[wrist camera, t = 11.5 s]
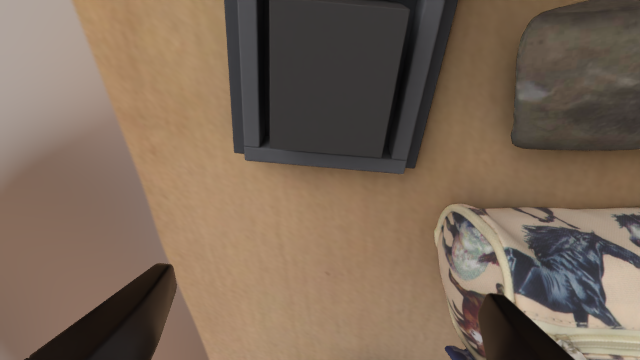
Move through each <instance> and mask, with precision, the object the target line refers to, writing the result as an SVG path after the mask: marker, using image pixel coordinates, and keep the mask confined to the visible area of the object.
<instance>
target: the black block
mask: <svg viewBox="0 0 640 360" xmlns="http://www.w3.org/2000/svg"><path fill="white" fill-rule="evenodd" d="M409 14H410V9H408V8H407V7H405V6H404V5H402V4H401V3H399V2H397V1H388V0H269V26H270V148H271V149H283V150H294V151H306V152H317V153H329V154H340V155H352V156H363V157H375V158H382V153H383V148H384V143H385V138H386V133H387V128H388V123H389V117H390V112H391V107H392V102H393V97H394V92H395V87H396V81H397V76H398V71H399V66H400V61H401V56H402V50H403V45H404V40H405V35H406V30H407V25H408V20H409Z"/></svg>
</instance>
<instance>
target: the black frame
mask: <svg viewBox="0 0 640 360" xmlns="http://www.w3.org/2000/svg"><path fill="white" fill-rule="evenodd" d="M388 1H397V2H399V3H401V4H402V5H404V6H405V7H407V8H408V9H410V14H409V20H408V25H407V30H406V35H405V40H404V45H403V50H402V56H401V61H400V66H399V71H398V76H397V81H396V87H395V92H394V97H393V102H392V107H391V112H390V117H389V123H388V128H387V133H386V138H385V143H384V148H383V153H382V158H375V157H363V156H352V155H340V154H329V153H317V152H306V151H294V150H283V149H271V148H270V26H269V0H224V4H225V20H226V35H227V50H228V65H229V81H230V96H231V111H232V127H233V142H234V152H235V153H242V154H245V160H247V161H258V162H270V163H281V164H293V165H304V166H316V167H327V168H339V169H350V170H362V171H373V172H385V173H396V174H404V171H405V168H415V165H416V162H417V158H418V154H419V150H420V146H421V142H422V138H423V134H424V130H425V127H426V123H427V119H428V115H429V111H430V107H431V103H432V99H433V96H434V92H435V88H436V84H437V80H438V76H439V72H440V68H441V64H442V61H443V57H444V53H445V49H446V45H447V41H448V37H449V33H450V30H451V26H452V22H453V18H454V14H455V10H456V6H457V2H458V0H388Z"/></svg>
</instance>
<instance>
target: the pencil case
mask: <svg viewBox="0 0 640 360" xmlns="http://www.w3.org/2000/svg"><path fill="white" fill-rule="evenodd" d="M434 241H435V245H436V247H437V250H438V257H439V268H440V274H441V278H442V282H443V286H444V290H445V293H446V298H447V303H448V308H449V312H450V316H451V319H452V322H453V324H454V327H455V330H456V332H457V333H458V335H459V337H460V339H461V340H462V342H463V343H464V345H465V347H466V349H464V350H462V349H459V348H457V347H455V346H446V347H445V351H446V352H447V353H448V355H449V356H450V358H451V359H452V360H486V355H485V351H484V346H483V341H482V336H481V332H480V327H479V322H478V311H479V309H480V307H481V304H482V302H483V300H484V298H485V296H486V295H487V294H488V293H498V294H503V295H505V296H506V297H507V298H508V299H509V300H510V301H512V302H513V303H514V304H515V305H516V306H517V307H518V308H519V309H520V310H521V311H522V312H524V313H525V314H526V315H527V316H528V317H529V318H530V319H531V320H532V321H533V322H535V323H536V324H537V325H538V326H539V327H540V328H541V329H542V330H543V331H544V332H545V333H547V334H548V335H549V336H550V337H551V338H552V339H553V340H554V341H555V342H556V343H558V344H559V345H560V346H561V347H562V348H563V349H564V350H565V351H566V352H567V353H568V354H570V355H571V356H572V357H573V358H574V359H575V360H640V208H606V209H576V210H575V209H566V208H542V207H521V208H496V209H494V208H487V209H478V208H475V207H472V206H470V205H466V204H453V205H449V206H447V207H446V208H445V209H444V210H443V212H442V213H441V215H440V217H439V220H438V224H437V228H436V229H435V230H434Z"/></svg>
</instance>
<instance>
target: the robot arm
mask: <svg viewBox="0 0 640 360" xmlns="http://www.w3.org/2000/svg"><path fill="white" fill-rule="evenodd" d="M176 288H177V283H176V278H175V273H174V268H173V266H172V265H171V264H164V263H158V264H155V265H154V266H152V267H151V268H150V269H148V270H147V271H146V272H144V273H143V274H141V275H140V276H139V277H137V278H136V279H134V280H133V281H132V282H130V283H129V284H128V285H126V286H125V287H124V288H122V289H121V290H119V291H118V292H117V293H115V294H114V295H112V296H111V297H110V298H108V299H107V300H106V301H104V302H103V303H102V304H100V305H99V306H98V307H96V308H95V309H93V310H92V311H90V312H89V313H88V314H86V315H85V316H84V317H82V318H81V319H79V320H78V321H77V322H75V323H74V324H73V325H71V326H70V327H69V328H67V329H66V330H64V331H63V332H62V333H60V334H59V335H58V336H56V337H55V338H54V339H52V340H51V341H49V342H48V343H47V344H45V345H44V346H42V347H41V348H40V349H38V350H37V351H36V352H34V353H33V354H31V355H30V357H29V358H26V359H24V360H151V359H152V356H153V354H154V352H155V350H156V347H157V345H158V343H159V340H160V337H161V334H162V331H163V328H164V325H165V323H166V320H167V317H168V314H169V311H170V308H171V305H172V302H173V299H174V296H175V293H176ZM478 322H479V327H480V332H481V336H482V341H483V346H484V351H485V355H486V360H575V359H574V358H573V357H572V356H571V355H570V354H568V353H567V352H566V351H565V350H564V349H563V348H562V347H561V346H560V345H559V344H558V343H556V342H555V341H554V340H553V339H552V338H551V337H550V336H549V335H548V334H547V333H545V332H544V331H543V330H542V329H541V328H540V327H539V326H538V325H537V324H536V323H535V322H533V321H532V320H531V319H530V318H529V317H528V316H527V315H526V314H525V313H524V312H522V311H521V310H520V309H519V308H518V307H517V306H516V305H515V304H514V303H513V302H512V301H510V300H509V299H508V298H507V297H506V296H505V295H503V294H498V293H488V294H487V295H486V296H485V298H484V300H483V302H482V304H481V307H480V309H479V311H478Z"/></svg>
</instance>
